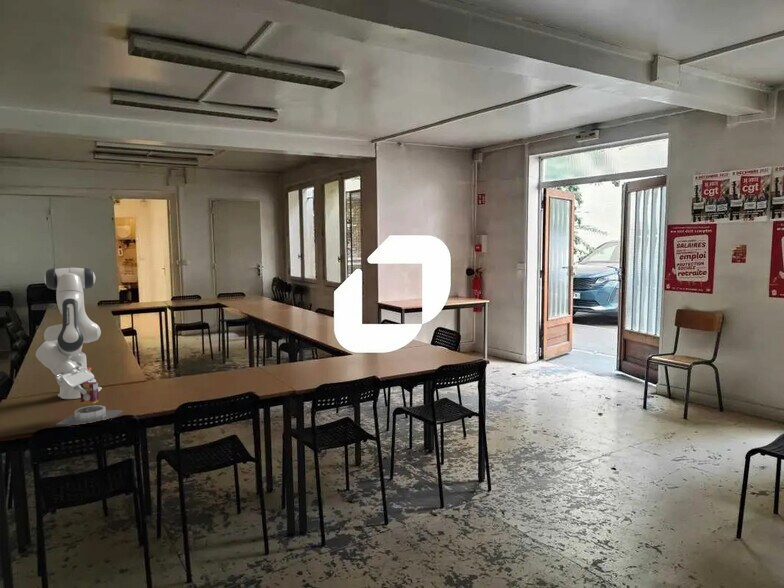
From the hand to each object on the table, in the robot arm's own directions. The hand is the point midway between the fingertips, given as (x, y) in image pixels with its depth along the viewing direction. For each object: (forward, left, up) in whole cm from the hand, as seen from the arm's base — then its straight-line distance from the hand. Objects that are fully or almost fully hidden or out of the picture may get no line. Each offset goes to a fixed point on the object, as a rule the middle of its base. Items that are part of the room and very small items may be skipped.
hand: (89, 391), depth 245 cm
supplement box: (0, 0, -5) cm, 6 cm away
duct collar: (0, 0, -13) cm, 13 cm away
